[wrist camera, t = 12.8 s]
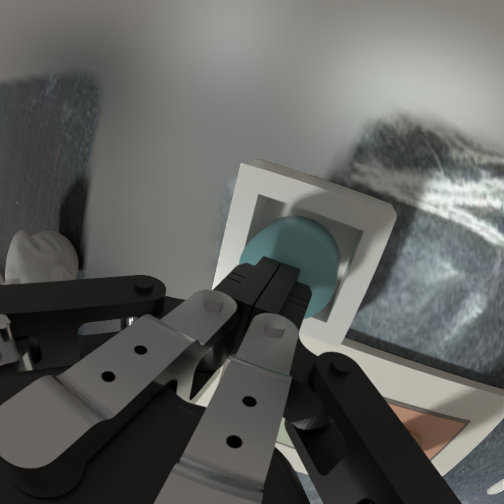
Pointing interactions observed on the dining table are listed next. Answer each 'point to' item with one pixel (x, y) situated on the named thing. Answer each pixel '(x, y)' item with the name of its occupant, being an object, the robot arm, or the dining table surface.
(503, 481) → the spoon
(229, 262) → the button housing
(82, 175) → the dining table surface
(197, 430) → the robot arm
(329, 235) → the button
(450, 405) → the picture board
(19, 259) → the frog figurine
